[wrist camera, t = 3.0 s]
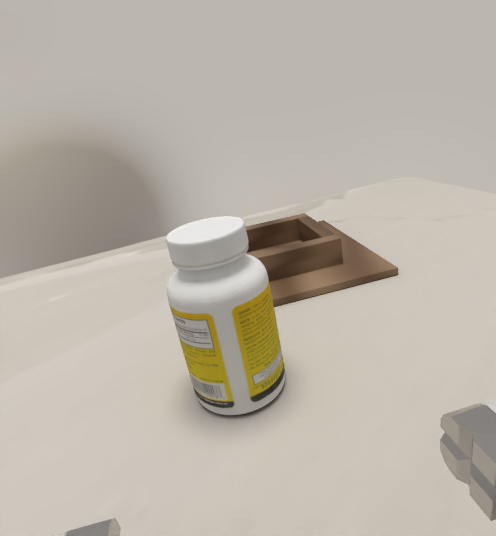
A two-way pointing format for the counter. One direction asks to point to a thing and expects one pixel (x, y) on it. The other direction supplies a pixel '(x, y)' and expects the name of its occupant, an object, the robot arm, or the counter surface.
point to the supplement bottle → (224, 316)
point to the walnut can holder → (311, 258)
